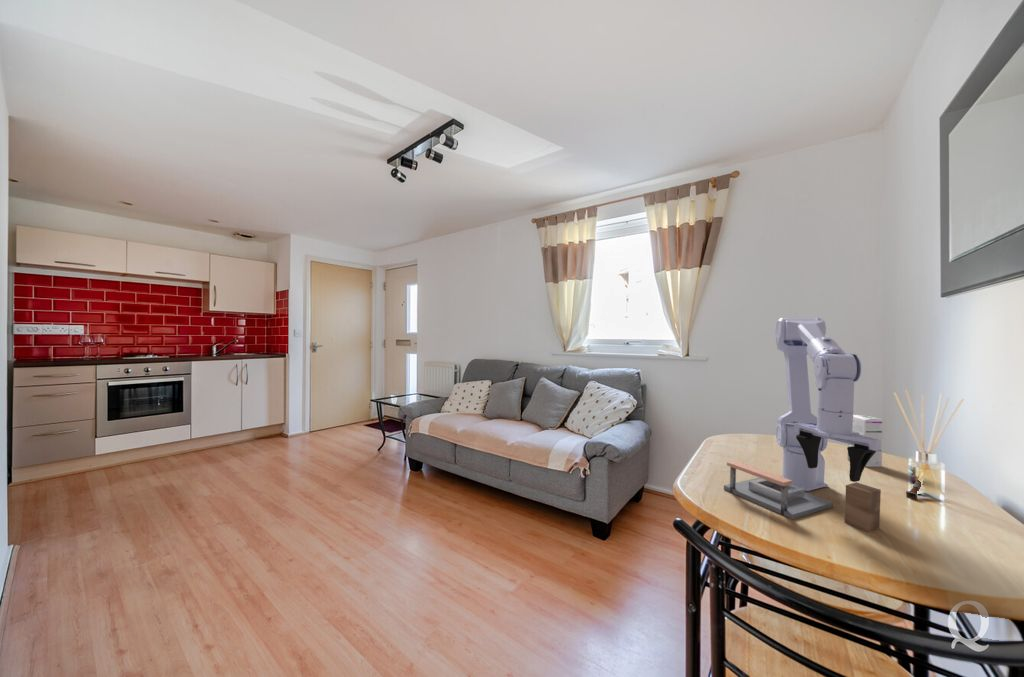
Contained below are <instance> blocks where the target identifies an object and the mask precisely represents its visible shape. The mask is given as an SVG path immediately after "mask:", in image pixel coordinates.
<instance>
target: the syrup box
mask: <svg viewBox="0 0 1024 677" xmlns="http://www.w3.org/2000/svg"><path fill="white" fill-rule="evenodd" d="M883 429H884V419H882V418H878V417H874V416H868V415H864V414H853V433H856V434H860V435H863V436H867V437H870V438H874V439H878V440H881V450H876V453H875V454H874V455H873V456H872V457H871V458H870V460H869V461H868V462H867V464H866V466H865V467H867V468H883V467H882V466H883V439H884V438H883V434H884V433H883V431H884V430H883ZM852 446H854V445H852V444H848V443H847V447H852ZM847 461H849V454H848V453H847Z"/></svg>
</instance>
